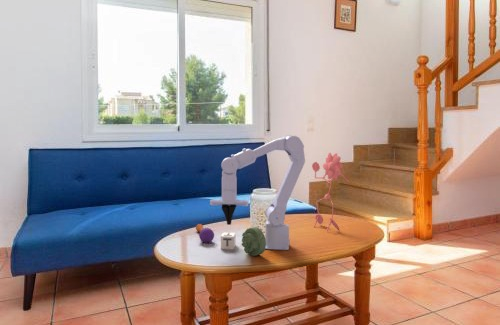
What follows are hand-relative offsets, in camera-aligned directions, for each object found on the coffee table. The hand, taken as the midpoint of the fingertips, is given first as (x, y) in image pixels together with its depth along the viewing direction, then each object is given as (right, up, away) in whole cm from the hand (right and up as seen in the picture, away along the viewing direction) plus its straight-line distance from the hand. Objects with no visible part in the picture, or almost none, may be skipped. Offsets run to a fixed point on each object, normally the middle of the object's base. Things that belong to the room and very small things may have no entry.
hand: (229, 224), depth 145 cm
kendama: (-12, -8, +15) cm, 21 cm away
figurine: (+46, -7, +30) cm, 56 cm away
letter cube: (0, -9, +2) cm, 10 cm away
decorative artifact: (+8, -11, -8) cm, 15 cm away
